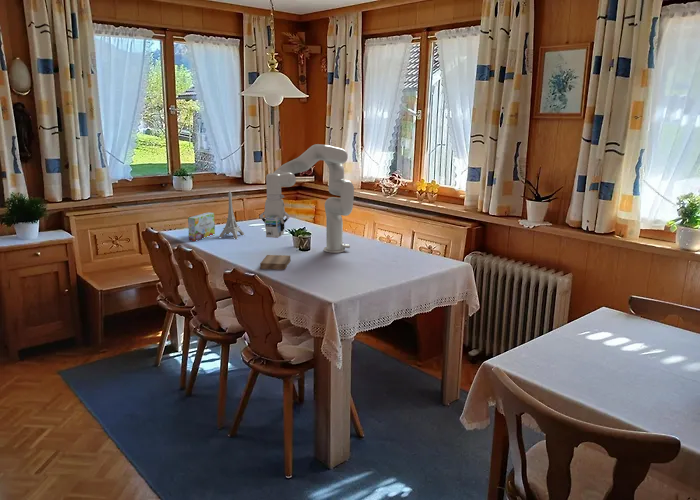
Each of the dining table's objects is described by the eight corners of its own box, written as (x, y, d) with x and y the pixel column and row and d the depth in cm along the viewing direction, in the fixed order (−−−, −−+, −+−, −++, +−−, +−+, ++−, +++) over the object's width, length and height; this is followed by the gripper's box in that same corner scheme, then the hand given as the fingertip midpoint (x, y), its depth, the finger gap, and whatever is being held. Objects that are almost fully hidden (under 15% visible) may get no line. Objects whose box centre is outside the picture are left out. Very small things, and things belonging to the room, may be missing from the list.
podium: (290, 260, 306) (290, 255, 306) (285, 269, 290) (284, 264, 289) (267, 260, 307) (267, 254, 307) (260, 268, 291) (260, 263, 290)
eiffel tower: (245, 235, 367) (243, 189, 360) (237, 239, 355) (235, 192, 347) (226, 233, 370) (224, 189, 363) (217, 238, 358) (215, 191, 350)
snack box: (196, 241, 348) (194, 218, 344) (188, 241, 350) (187, 217, 346) (215, 234, 367) (214, 212, 363) (208, 234, 369) (207, 211, 365)
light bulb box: (277, 238, 289) (277, 217, 286) (265, 237, 290) (264, 217, 288) (284, 233, 299) (283, 214, 296) (272, 233, 300) (271, 213, 298)
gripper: (291, 196, 293) (292, 229, 297) (259, 195, 294) (260, 228, 298) (289, 198, 285) (290, 232, 290) (256, 198, 286) (257, 231, 291)
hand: (275, 230), depth 294 cm, fingers closed on light bulb box, 7 cm apart
